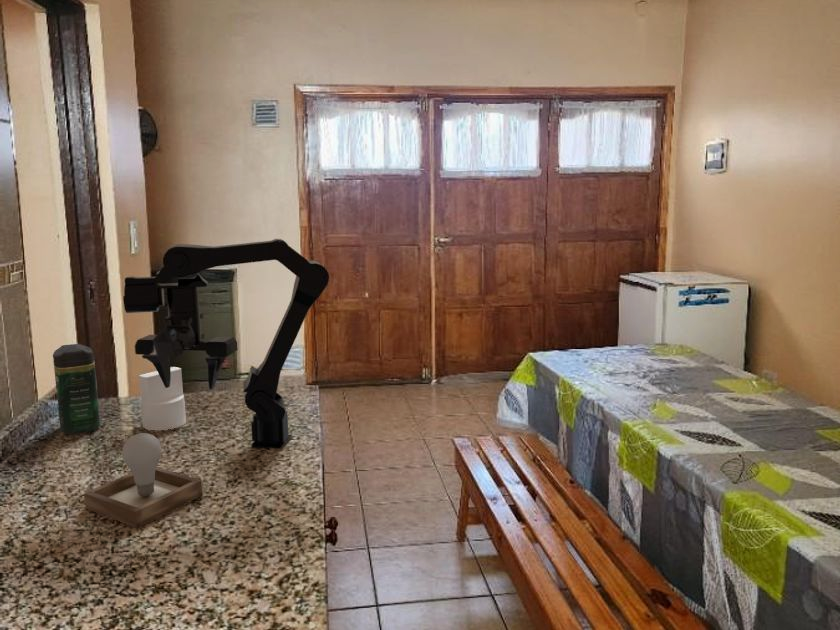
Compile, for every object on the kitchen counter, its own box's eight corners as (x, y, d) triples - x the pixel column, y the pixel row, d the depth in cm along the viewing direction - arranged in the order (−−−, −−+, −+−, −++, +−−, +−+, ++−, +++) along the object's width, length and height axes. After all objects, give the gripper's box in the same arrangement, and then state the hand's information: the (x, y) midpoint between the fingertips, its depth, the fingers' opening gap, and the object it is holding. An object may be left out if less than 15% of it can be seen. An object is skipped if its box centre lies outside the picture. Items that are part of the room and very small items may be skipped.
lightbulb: (172, 489, 116) (167, 428, 114) (154, 505, 110) (148, 441, 108) (138, 488, 117) (132, 427, 115) (119, 504, 111) (112, 440, 109)
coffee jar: (103, 431, 147) (95, 348, 144) (62, 438, 143) (52, 353, 140) (98, 418, 155) (90, 339, 152) (59, 424, 151) (50, 343, 148)
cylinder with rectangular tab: (170, 414, 158) (166, 364, 156) (194, 422, 153) (190, 370, 150) (134, 425, 151) (130, 373, 148) (158, 433, 146) (154, 379, 143)
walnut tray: (152, 479, 123) (150, 465, 122) (202, 495, 116) (201, 480, 116) (85, 509, 112) (83, 493, 111) (137, 528, 105) (135, 511, 105)
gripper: (114, 317, 124) (122, 398, 127) (210, 319, 122) (216, 402, 124) (147, 306, 135) (153, 382, 138) (236, 308, 132) (240, 385, 135)
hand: (189, 388), depth 134 cm, fingers open, 9 cm apart
